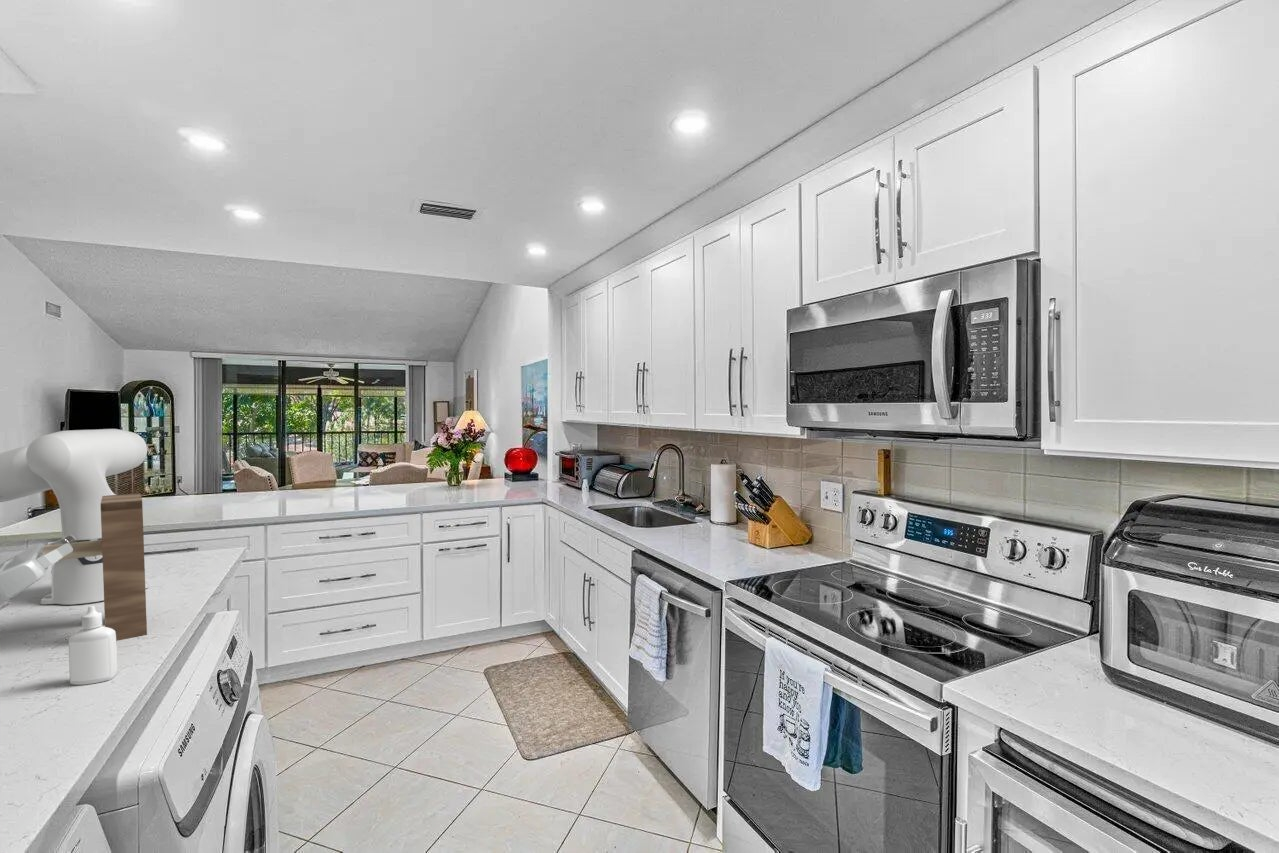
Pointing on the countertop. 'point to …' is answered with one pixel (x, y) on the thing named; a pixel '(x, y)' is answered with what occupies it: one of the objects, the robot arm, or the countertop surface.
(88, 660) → the eye dropper bottle
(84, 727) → the countertop surface
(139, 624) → the walnut shelf
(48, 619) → the countertop surface
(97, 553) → the wooden mallet
